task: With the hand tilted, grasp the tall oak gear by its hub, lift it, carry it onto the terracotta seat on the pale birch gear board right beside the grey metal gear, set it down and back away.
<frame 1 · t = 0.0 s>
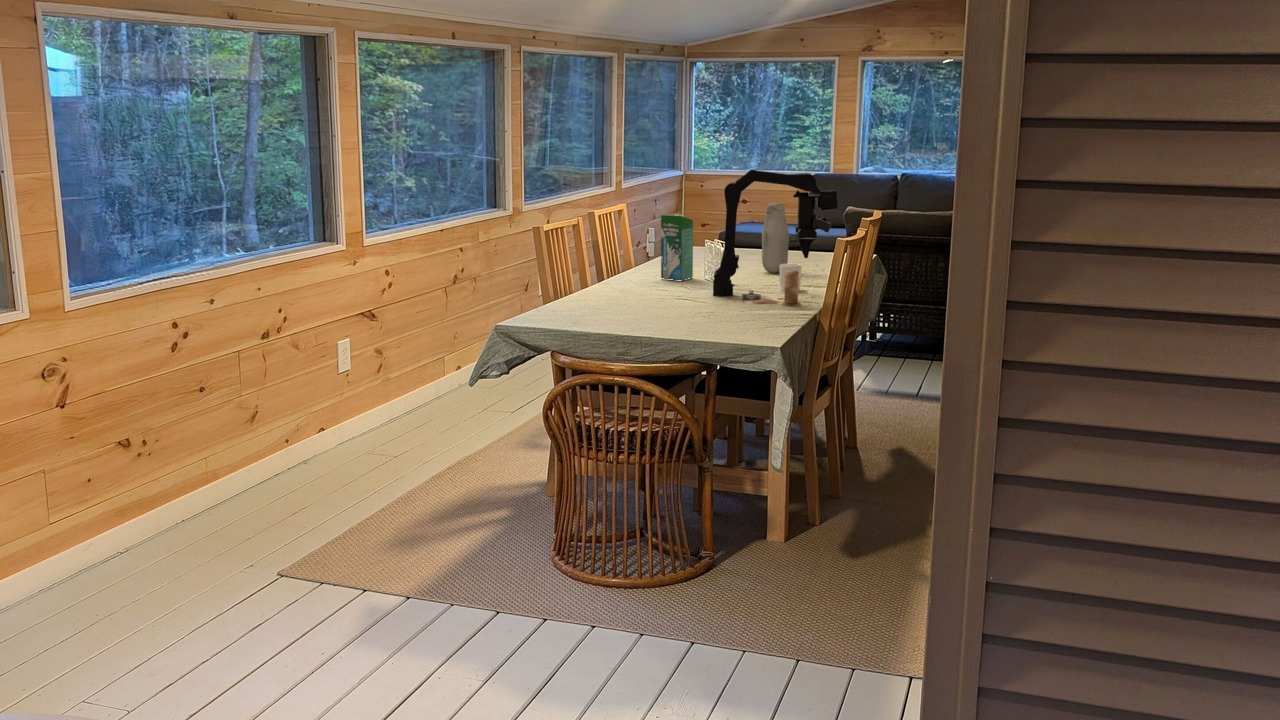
hand: (805, 256, 387), 15 cm above the table, tool pointing down, fingers open, 9 cm apart
metal gear: (751, 299, 384), resting on gear board
white cup: (789, 293, 402), on the table
grey bottle: (774, 273, 449), on the table
gear board: (760, 303, 381), on the table
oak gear: (790, 307, 373), on the table
milk carton: (676, 279, 435), on the table
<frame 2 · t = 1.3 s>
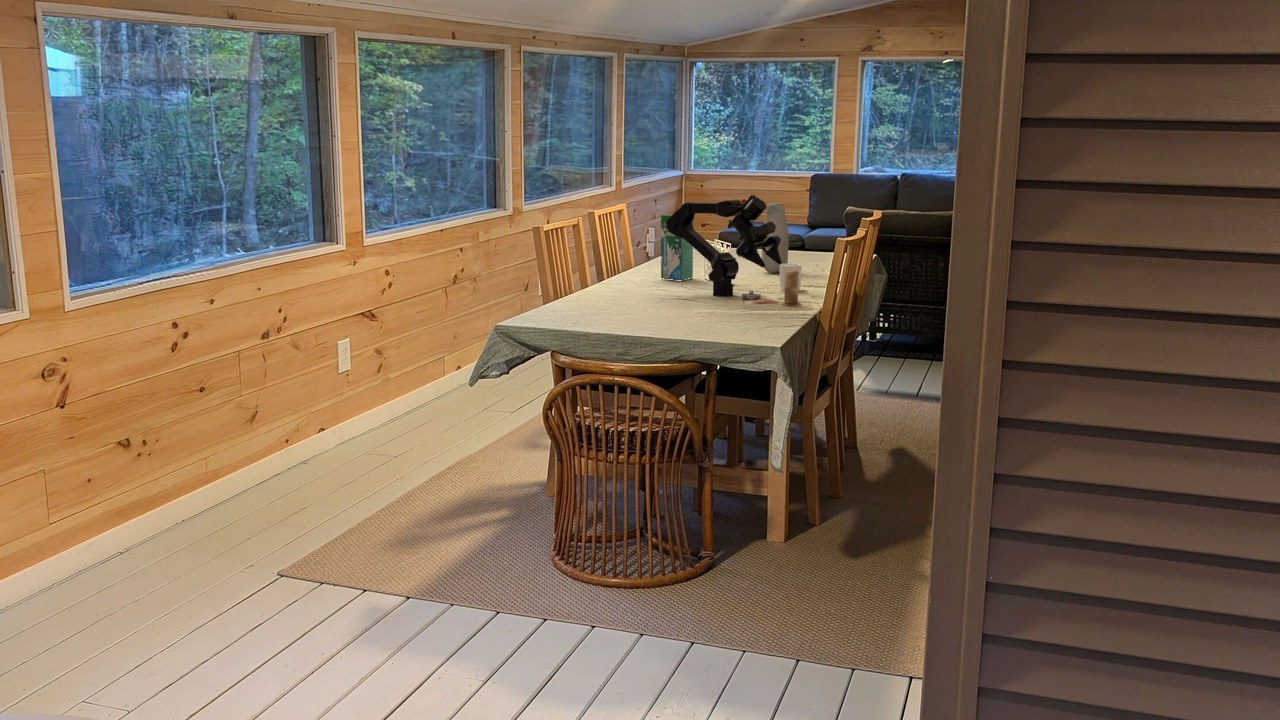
hand: (772, 265, 375), 13 cm above the table, tool tilted 45°, fingers open, 9 cm apart
nothing on the table moved.
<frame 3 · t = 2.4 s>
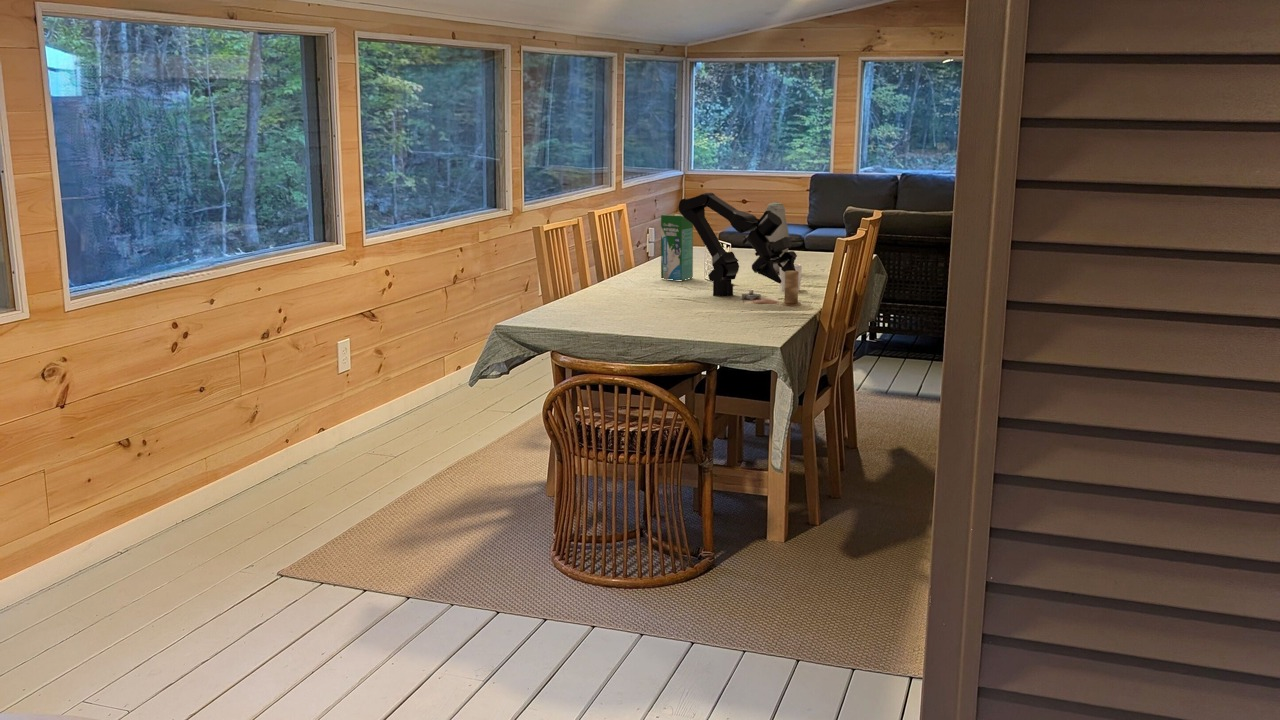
hand: (788, 280, 372), 9 cm above the table, tool tilted 45°, fingers open, 9 cm apart
nothing on the table moved.
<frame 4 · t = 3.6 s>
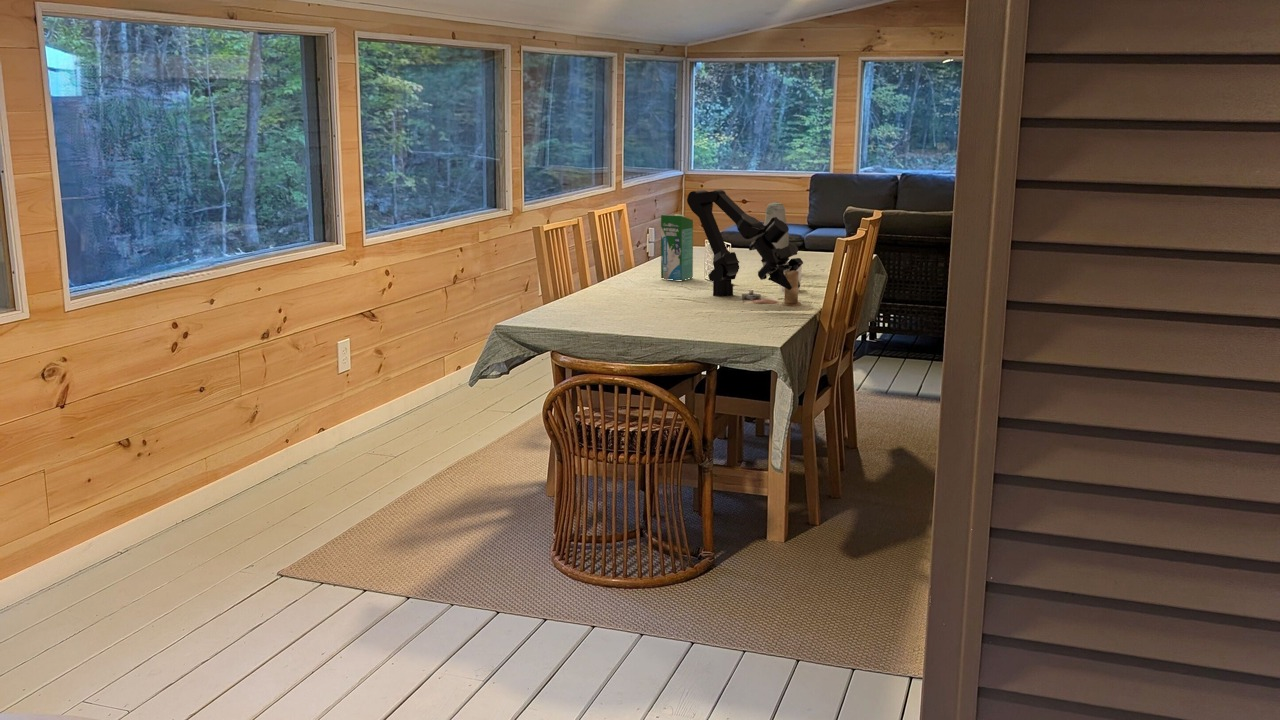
hand: (794, 288, 371), 7 cm above the table, tool tilted 45°, fingers closed on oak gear, 4 cm apart
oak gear: (791, 307, 373), on the table, touching gripper
everything else where it was.
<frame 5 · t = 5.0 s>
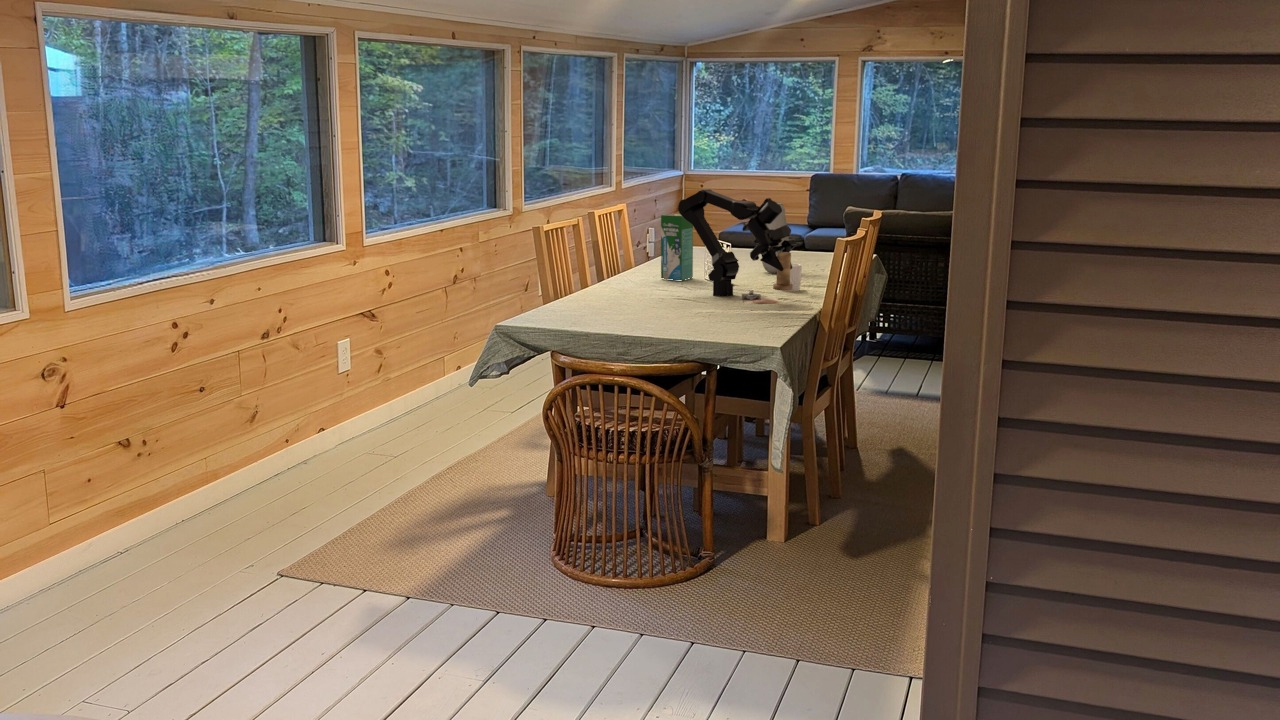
hand: (786, 269, 371), 13 cm above the table, tool tilted 45°, fingers closed on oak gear, 4 cm apart
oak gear: (782, 288, 374), point 6 cm above the table, touching gripper
everything else where it was.
when the fingers open (9 cm above the table, at t = 6.5 s): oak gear drops 1 cm, resting on gear board.
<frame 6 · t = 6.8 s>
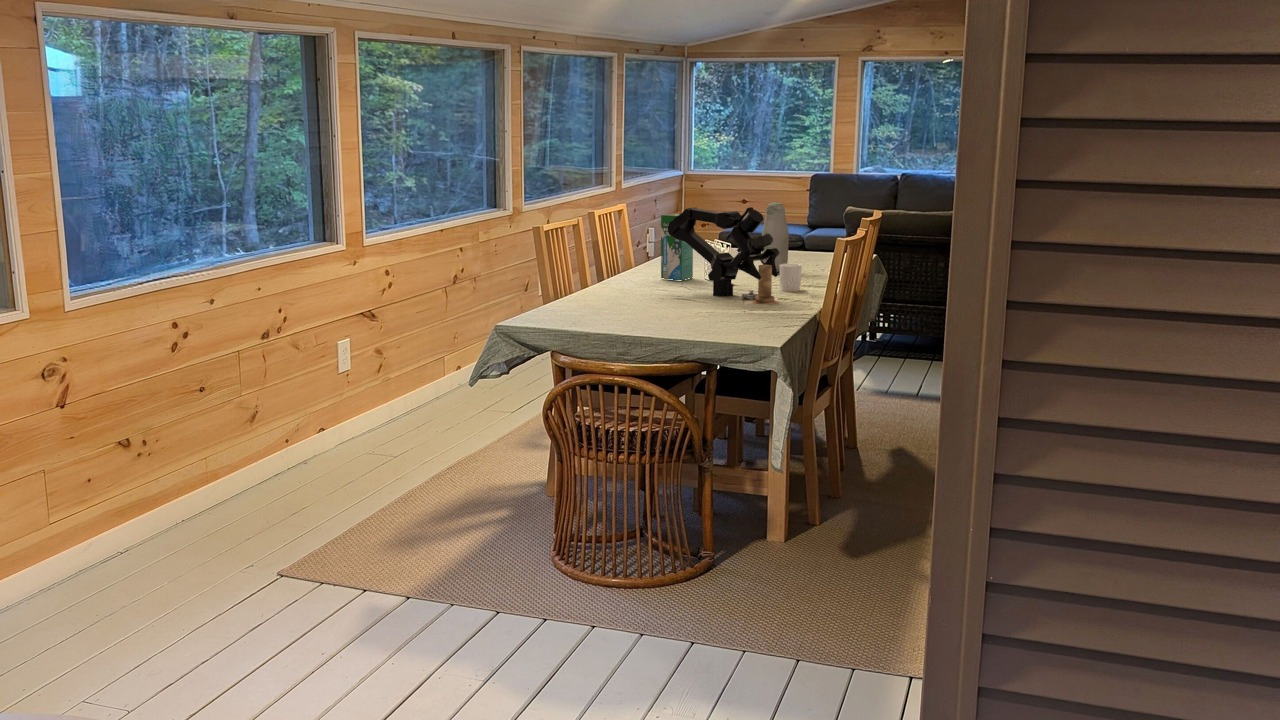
hand: (768, 277, 375), 9 cm above the table, tool tilted 45°, fingers open, 8 cm apart
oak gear: (764, 301, 378), point 1 cm above the table, touching gear board
everything else where it was.
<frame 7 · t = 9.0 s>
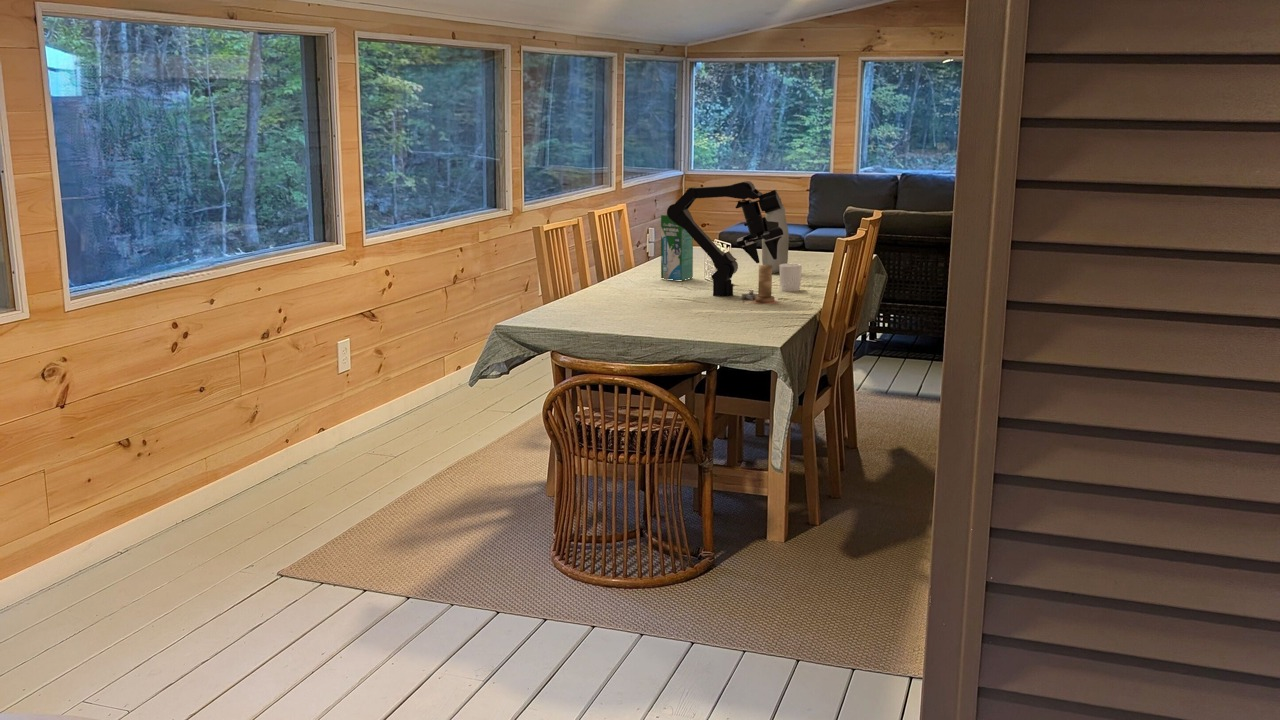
hand: (766, 261, 385), 13 cm above the table, tool tilted 20°, fingers open, 9 cm apart
nothing on the table moved.
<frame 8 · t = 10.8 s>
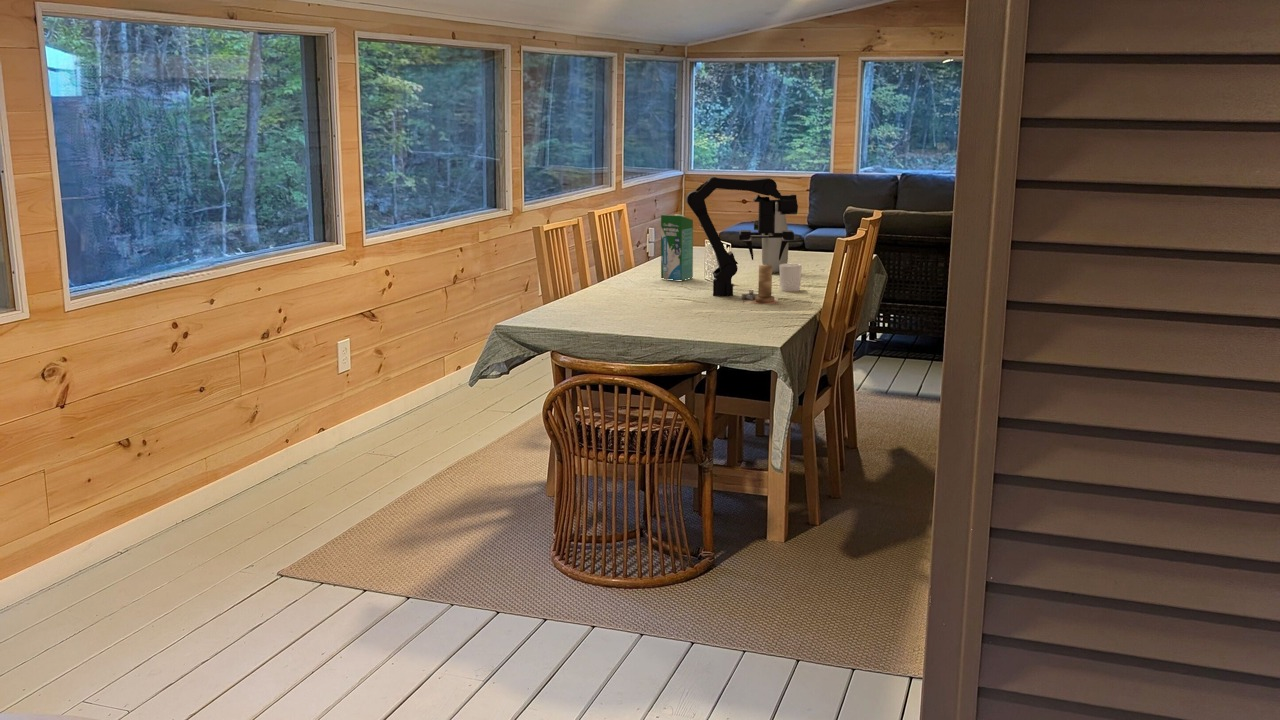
hand: (766, 260, 390), 13 cm above the table, tool pointing down, fingers open, 9 cm apart
nothing on the table moved.
at the end: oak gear 0.1 cm from the target spot, point 1.2 cm above the table; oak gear tilted 0°; the gripper is holding nothing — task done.
